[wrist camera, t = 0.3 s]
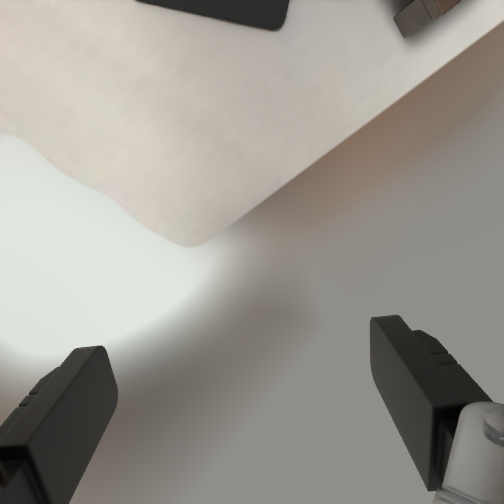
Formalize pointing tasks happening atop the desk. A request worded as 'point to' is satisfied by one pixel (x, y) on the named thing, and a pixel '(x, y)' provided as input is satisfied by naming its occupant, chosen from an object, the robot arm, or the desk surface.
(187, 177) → the desk surface
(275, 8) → the phone
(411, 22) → the small brown bench
